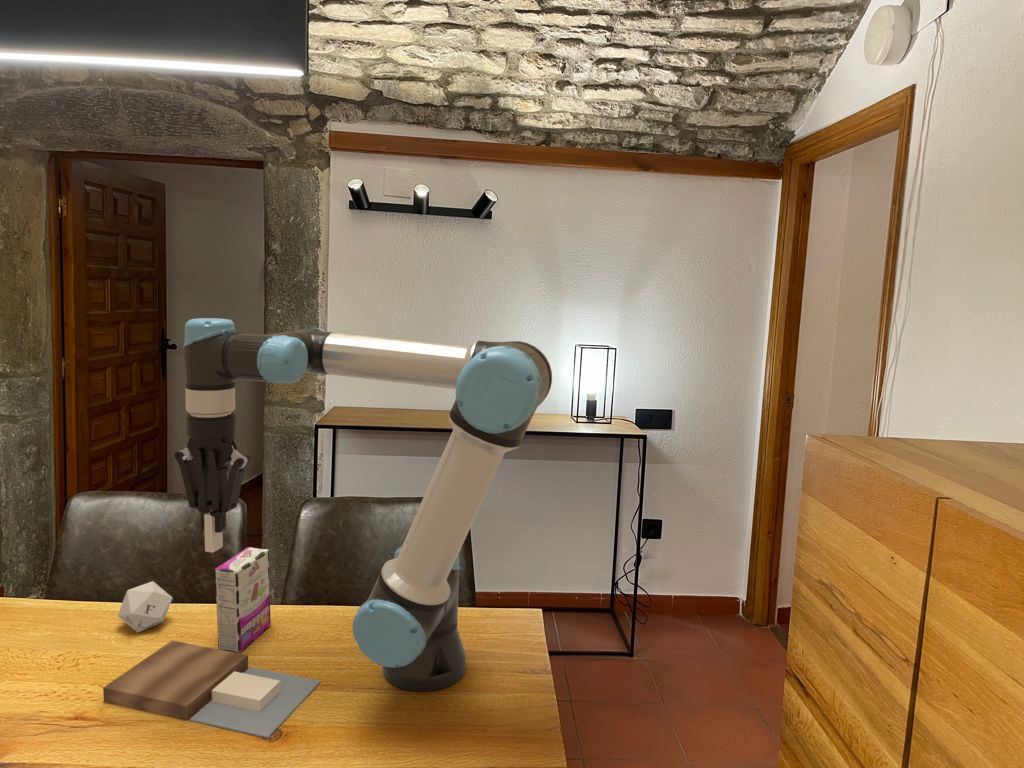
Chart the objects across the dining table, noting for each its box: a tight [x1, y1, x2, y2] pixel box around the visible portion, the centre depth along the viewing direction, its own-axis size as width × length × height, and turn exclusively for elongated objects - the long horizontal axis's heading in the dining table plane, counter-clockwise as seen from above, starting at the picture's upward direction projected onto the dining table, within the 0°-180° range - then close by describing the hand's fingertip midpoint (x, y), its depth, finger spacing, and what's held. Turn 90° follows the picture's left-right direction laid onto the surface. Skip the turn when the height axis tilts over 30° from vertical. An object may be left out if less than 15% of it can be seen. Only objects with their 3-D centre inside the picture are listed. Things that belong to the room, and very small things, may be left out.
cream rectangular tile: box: [211, 671, 281, 712], centre depth 120 cm, size 9×6×2 cm, turn 76°
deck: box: [102, 640, 249, 721], centre depth 123 cm, size 16×16×2 cm
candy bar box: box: [214, 546, 272, 654], centre depth 138 cm, size 11×5×16 cm, turn 168°
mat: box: [189, 666, 321, 739], centre depth 119 cm, size 14×16×1 cm
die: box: [117, 580, 173, 634], centre depth 142 cm, size 8×9×10 cm
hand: (214, 548), depth 121 cm, fingers closed
